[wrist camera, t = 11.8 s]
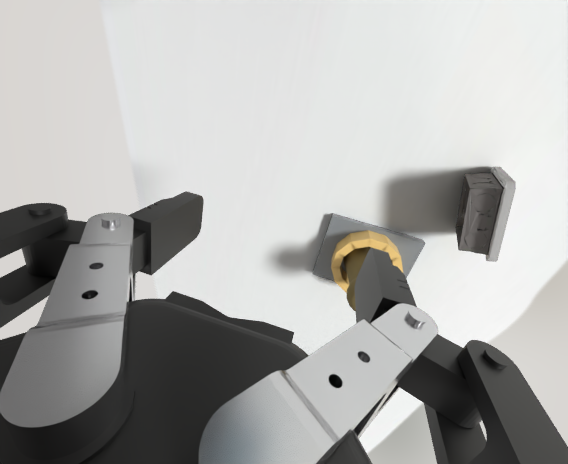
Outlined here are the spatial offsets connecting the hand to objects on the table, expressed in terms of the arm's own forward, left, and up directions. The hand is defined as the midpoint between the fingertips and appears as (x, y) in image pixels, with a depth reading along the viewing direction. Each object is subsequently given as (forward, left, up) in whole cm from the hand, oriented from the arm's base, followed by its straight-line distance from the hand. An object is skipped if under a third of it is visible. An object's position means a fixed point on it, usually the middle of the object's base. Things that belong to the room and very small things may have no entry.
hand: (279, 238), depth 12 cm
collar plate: (+14, +11, -28) cm, 33 cm away
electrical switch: (+1, +21, -28) cm, 35 cm away
